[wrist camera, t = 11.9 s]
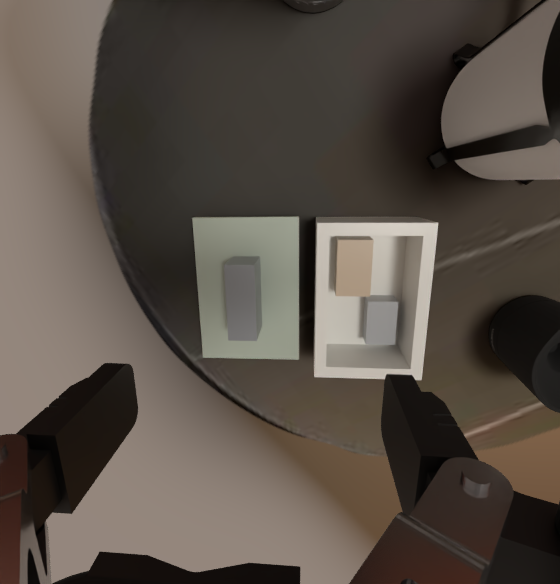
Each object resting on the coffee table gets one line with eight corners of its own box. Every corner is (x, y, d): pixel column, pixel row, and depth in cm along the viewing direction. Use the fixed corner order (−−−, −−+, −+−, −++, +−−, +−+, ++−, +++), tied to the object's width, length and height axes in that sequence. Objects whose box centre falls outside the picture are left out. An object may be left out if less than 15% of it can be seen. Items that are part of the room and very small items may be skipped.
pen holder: (515, 277, 42) (576, 304, 32) (587, 313, 42) (668, 351, 33) (467, 345, 45) (510, 390, 35) (535, 379, 45) (596, 431, 35)
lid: (198, 216, 42) (178, 221, 36) (299, 215, 41) (297, 220, 35) (207, 349, 47) (191, 375, 40) (299, 351, 46) (297, 378, 39)
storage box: (315, 216, 42) (317, 222, 35) (417, 216, 41) (438, 222, 34) (313, 348, 46) (314, 376, 39) (404, 351, 45) (421, 380, 39)
